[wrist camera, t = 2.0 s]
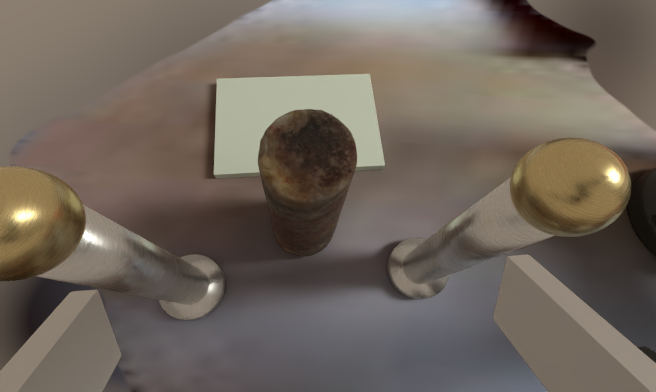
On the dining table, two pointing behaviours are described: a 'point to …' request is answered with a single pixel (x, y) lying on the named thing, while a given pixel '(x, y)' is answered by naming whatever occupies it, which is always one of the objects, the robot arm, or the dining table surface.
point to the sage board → (280, 98)
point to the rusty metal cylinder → (306, 177)
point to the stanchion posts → (403, 263)
